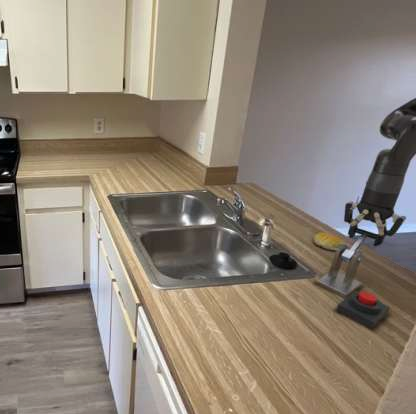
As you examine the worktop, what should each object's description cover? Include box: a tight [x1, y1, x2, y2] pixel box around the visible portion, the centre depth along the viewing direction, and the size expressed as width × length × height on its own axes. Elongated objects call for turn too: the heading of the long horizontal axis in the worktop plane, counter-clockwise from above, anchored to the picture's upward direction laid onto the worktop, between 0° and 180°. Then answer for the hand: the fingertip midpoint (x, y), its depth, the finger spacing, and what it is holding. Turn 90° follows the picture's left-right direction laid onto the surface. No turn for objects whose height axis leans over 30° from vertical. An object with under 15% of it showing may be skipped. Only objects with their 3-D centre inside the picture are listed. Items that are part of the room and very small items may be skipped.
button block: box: [336, 290, 391, 330], centre depth 87 cm, size 10×8×4 cm
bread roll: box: [313, 232, 345, 252], centre depth 119 cm, size 8×9×4 cm
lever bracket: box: [315, 244, 364, 299], centre depth 96 cm, size 10×8×12 cm
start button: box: [358, 291, 378, 306], centre depth 86 cm, size 4×4×2 cm
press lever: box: [341, 227, 379, 264], centre depth 96 cm, size 12×6×2 cm, turn 122°
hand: (363, 240), depth 98 cm, fingers closed on press lever, 5 cm apart
